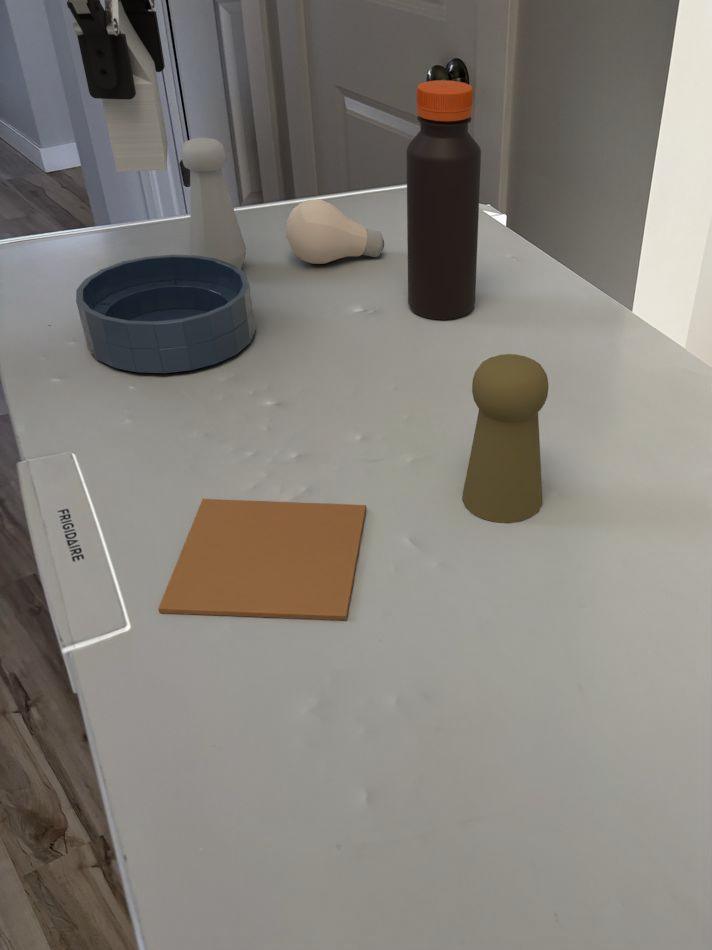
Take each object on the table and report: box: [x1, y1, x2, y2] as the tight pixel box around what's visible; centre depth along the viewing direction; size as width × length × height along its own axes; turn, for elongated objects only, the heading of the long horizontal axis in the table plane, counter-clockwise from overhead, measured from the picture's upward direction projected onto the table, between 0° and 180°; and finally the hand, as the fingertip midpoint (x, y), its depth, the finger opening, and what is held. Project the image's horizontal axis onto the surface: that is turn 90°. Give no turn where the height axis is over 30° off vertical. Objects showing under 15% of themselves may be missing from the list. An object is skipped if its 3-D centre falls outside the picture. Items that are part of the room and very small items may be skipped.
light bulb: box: [285, 199, 385, 265], centre depth 101 cm, size 7×7×11 cm
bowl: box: [75, 254, 256, 374], centre depth 86 cm, size 15×15×5 cm
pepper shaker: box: [461, 353, 549, 524], centre depth 66 cm, size 6×6×11 cm
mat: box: [158, 498, 367, 621], centre depth 63 cm, size 12×12×1 cm
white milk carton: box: [101, 1, 169, 173], centre depth 70 cm, size 4×7×10 cm, turn 12°
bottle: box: [406, 79, 482, 321], centre depth 87 cm, size 7×7×20 cm
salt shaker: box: [181, 137, 247, 271], centre depth 95 cm, size 6×6×13 cm
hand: (129, 81), depth 70 cm, fingers closed on white milk carton, 7 cm apart
